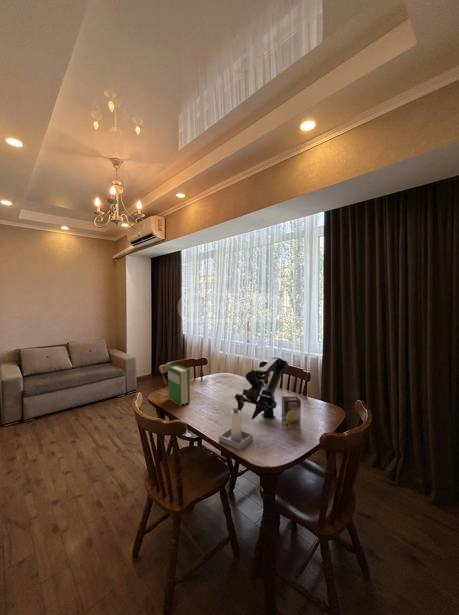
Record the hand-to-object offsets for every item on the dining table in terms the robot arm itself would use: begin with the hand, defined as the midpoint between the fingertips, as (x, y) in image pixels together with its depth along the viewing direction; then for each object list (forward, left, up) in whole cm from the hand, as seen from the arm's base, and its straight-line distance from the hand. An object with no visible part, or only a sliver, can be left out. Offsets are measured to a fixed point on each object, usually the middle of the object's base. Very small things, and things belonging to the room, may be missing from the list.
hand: (244, 416), depth 132 cm
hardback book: (-58, -24, -9) cm, 63 cm away
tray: (+4, -7, -9) cm, 12 cm away
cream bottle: (+4, -7, -9) cm, 12 cm away
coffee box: (+3, +27, -9) cm, 28 cm away
